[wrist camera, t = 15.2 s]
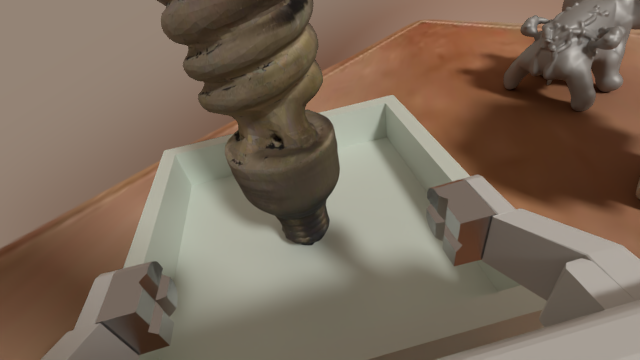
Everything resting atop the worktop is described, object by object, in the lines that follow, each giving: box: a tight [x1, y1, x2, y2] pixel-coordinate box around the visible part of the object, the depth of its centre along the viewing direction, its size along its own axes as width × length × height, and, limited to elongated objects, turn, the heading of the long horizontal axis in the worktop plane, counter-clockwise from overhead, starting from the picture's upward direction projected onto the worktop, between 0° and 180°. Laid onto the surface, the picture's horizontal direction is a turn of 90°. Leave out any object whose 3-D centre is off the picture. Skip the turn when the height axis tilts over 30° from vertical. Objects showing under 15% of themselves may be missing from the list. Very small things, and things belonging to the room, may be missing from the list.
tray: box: [123, 95, 547, 360], centre depth 19 cm, size 18×18×4 cm
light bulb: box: [157, 0, 340, 245], centre depth 15 cm, size 6×6×15 cm
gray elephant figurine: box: [504, 0, 640, 111], centre depth 28 cm, size 9×12×8 cm
